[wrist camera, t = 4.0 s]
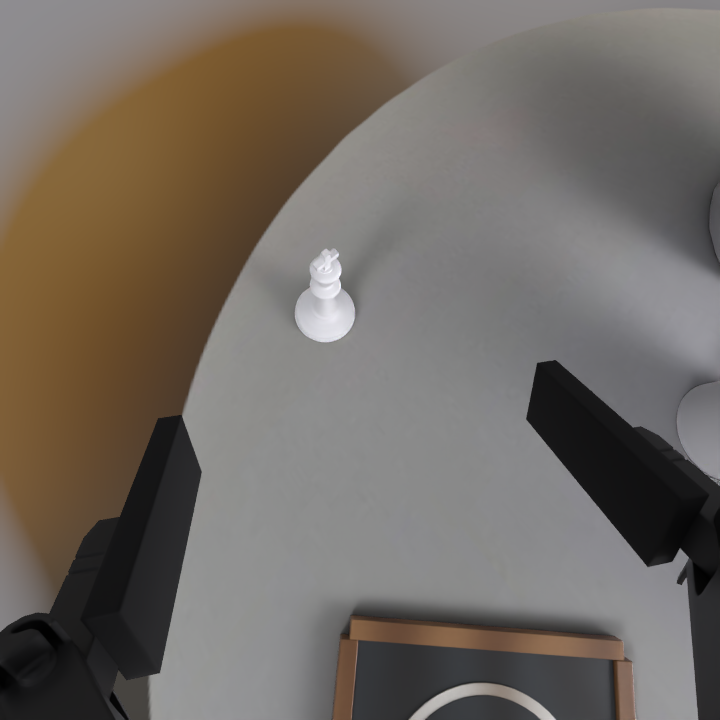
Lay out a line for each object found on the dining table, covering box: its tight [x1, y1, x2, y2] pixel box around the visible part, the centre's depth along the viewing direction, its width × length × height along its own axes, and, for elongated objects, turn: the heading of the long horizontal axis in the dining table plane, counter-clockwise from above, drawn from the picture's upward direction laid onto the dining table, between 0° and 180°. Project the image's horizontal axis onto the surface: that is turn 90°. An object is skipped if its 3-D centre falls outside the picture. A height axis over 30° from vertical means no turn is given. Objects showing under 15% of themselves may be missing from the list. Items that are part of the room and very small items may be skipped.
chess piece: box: [295, 248, 355, 342], centre depth 29 cm, size 5×5×10 cm
